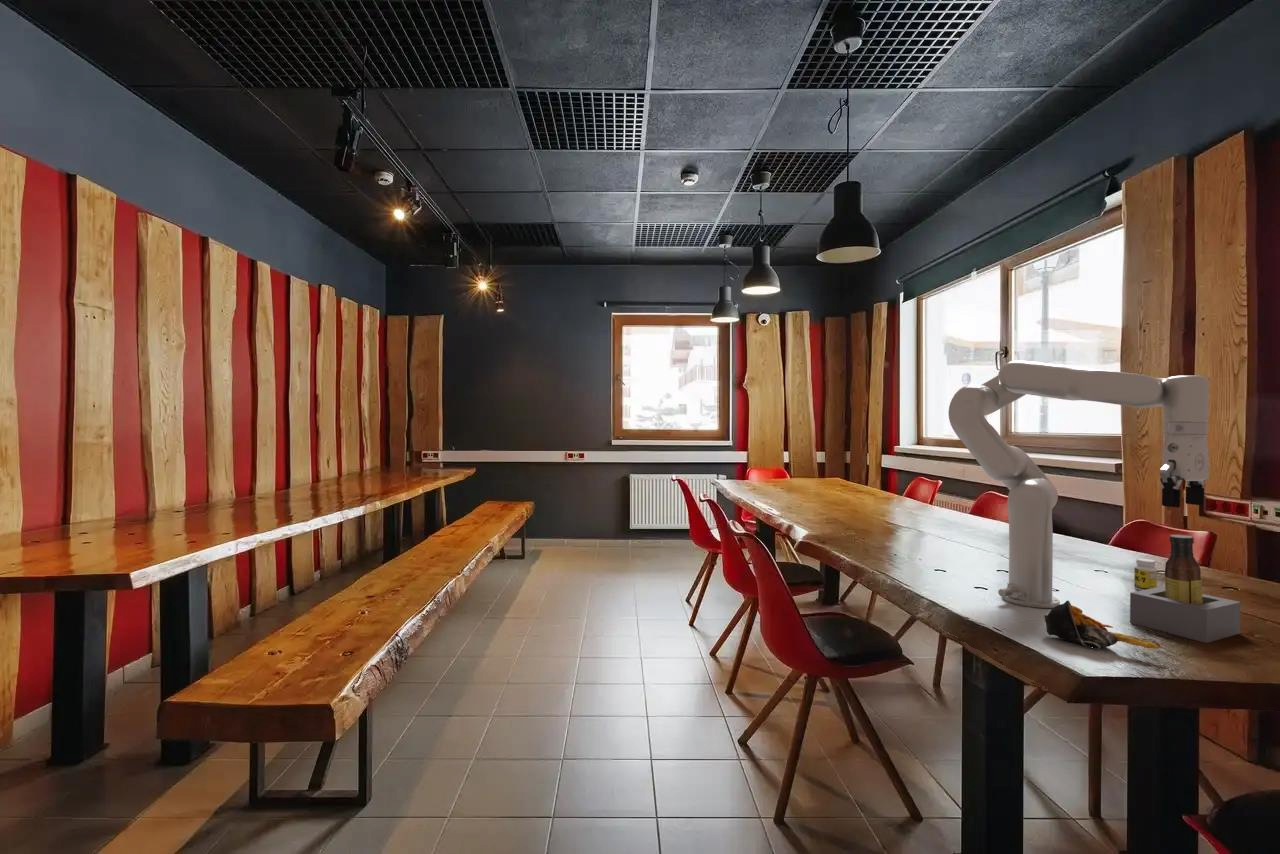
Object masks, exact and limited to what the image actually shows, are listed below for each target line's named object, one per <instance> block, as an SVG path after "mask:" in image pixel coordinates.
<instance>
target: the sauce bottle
mask: <svg viewBox="0 0 1280 854" xmlns="http://www.w3.org/2000/svg"><path fill="white" fill-rule="evenodd" d="M1169 542H1170V555H1169V557H1168V559H1167V561H1166V562H1165V568H1164V583H1165V585H1164V586H1165V594H1166V598H1168V599H1173V600H1177V601H1181V602H1186V603H1190V604H1195V605H1202V604H1203V602H1202V594H1203V586H1202V585H1203V584H1202V583H1203V582H1202V576H1201V565H1200V564H1199V562H1198V561H1197V560H1196V558H1195V557H1194V550H1193V549H1194V548H1193V544H1194V543H1195V542H1194V536H1192V535H1183V534H1170V535H1169Z"/></svg>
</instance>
